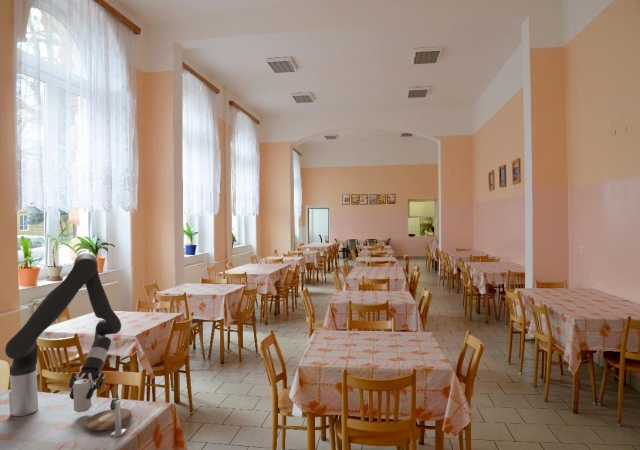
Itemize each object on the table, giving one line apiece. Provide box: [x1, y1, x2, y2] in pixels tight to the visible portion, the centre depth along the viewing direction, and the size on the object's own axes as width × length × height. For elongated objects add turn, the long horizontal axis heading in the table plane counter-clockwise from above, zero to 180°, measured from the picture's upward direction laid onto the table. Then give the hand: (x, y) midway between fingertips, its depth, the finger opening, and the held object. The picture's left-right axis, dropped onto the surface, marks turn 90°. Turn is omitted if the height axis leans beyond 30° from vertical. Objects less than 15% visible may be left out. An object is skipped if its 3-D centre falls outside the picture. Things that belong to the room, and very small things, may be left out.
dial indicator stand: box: [109, 398, 128, 438], centre depth 162 cm, size 4×5×13 cm
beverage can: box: [73, 379, 93, 413], centre depth 178 cm, size 6×6×12 cm
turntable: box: [85, 408, 133, 432], centre depth 170 cm, size 16×16×1 cm
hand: (79, 398), depth 177 cm, fingers closed on beverage can, 6 cm apart
